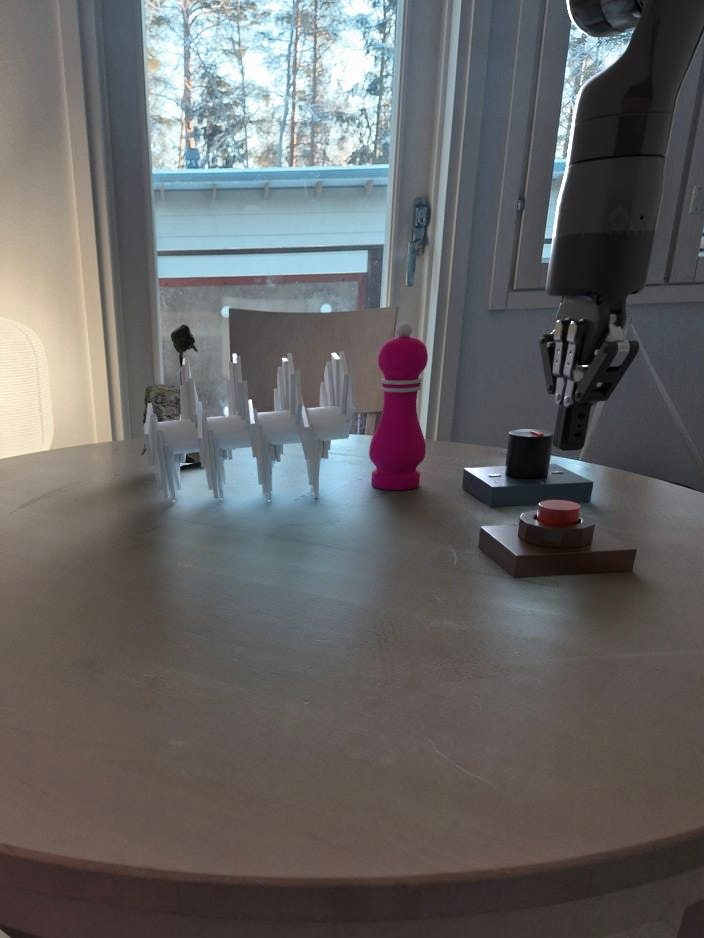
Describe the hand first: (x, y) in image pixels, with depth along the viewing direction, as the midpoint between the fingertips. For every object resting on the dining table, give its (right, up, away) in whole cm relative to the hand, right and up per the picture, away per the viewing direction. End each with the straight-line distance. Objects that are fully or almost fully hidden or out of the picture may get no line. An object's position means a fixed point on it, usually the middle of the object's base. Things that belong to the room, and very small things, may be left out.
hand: (567, 448), depth 67 cm
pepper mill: (-8, +3, +32) cm, 33 cm away
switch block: (+1, -9, +5) cm, 11 cm away
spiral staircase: (-28, +1, +29) cm, 40 cm away
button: (0, -6, +3) cm, 7 cm away
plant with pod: (-38, +10, +49) cm, 62 cm away
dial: (+6, +3, +24) cm, 25 cm away
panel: (+6, +1, +25) cm, 26 cm away
